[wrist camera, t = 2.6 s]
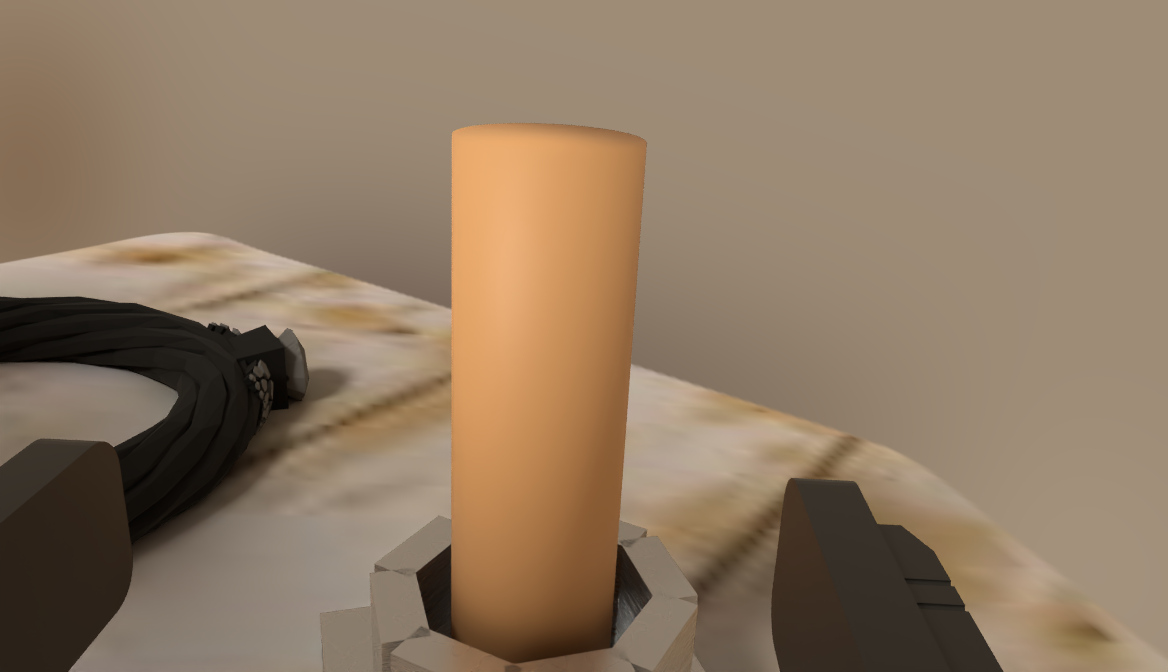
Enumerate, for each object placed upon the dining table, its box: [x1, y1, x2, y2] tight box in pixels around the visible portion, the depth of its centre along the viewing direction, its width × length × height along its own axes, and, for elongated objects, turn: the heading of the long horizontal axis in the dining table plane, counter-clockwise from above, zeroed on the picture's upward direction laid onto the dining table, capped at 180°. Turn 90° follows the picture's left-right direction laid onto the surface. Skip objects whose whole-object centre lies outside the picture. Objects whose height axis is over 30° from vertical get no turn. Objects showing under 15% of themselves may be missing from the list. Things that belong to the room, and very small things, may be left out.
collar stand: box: [320, 516, 705, 672], centre depth 26 cm, size 11×11×5 cm
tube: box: [451, 123, 647, 664], centre depth 24 cm, size 4×4×16 cm
